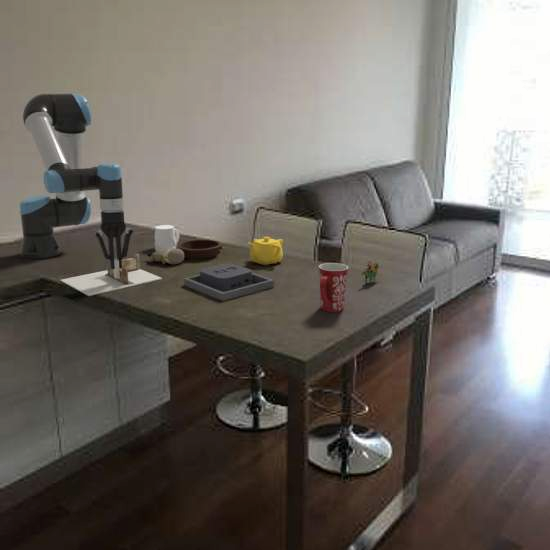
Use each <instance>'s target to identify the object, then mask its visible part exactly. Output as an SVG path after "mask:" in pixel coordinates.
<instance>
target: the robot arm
mask: <svg viewBox="0 0 550 550" xmlns="http://www.w3.org/2000/svg"><path fill="white" fill-rule="evenodd" d="M22 113H23V114H22V120H23V121H22V122H23V125H24V126H25V128H26V131H28V133H30V134H31V136H32V138H33V141H34V144H35V146H36V149H37V151H38V153H39V156H40V158H41V161H42V163H43V166H44V168H45V170H46V171H44V173H43V184H44V188H45V191H46V192H47V193H49V194H55V198H51V197H50V195H45V194H44V195H35V196H32V197H31V196H30V197H27V198H25V199H23V200H22V201H20V203H19V215H20V219H21V228H22V235H23V236H22V242H21V247H20V250H19V251H20V256H21V258H23V259H30V260H32V259H33V260H34V259H35V260H38V259H47V258H48V259H49V258H52V257H55V256H58V255H60V254H61V247H60V246H59V242H58V240H57V239H56V236H55V233H54V232H55V231H54V228H60V227H61V228H62V227H63V228H64V227H69V226H79V225H84V224H87V222H89V220H90V218H91V212H92V206H91V201H90V198H89V196H88V195H87V194H86V191H99V205H100V210H101V211H100V219H101V224H100V227H99V228H100V229H98V230H97V231H94V232H93V234H94V235H95V236H96V239H97V240H98V243H99V246H100V249H101V253H102V254H103V258H104V259H106V260H107V259H109V260H110V267H111V269H114V277H115V278H116V279H118V278H120V272H119V268H122V260H123V259H124V258H127V256H128V252H129V246H130V241H131V236H132V235H133V232H134V230H133V229H132V228H130V227H128V226H127V224H126V223H125V212H124V197H123V196H124V195H123V178H122V176H123V174H122V168H121V165H120V164H119V163H99V164H98V166H92V167H90V168H88V167H85V168H84V167H83V164H82V163H83V158H82V157H83V156H82V155H83V153H82V151H83V150H82V148H83V147H82V141H83V140H82V138H83V134H85V133H86V132H87V131H86V130H87V129H86V128H87V127H89V126H91V123H92V114H91V109H90V105H89V103H88V100H87V98H86V97H85V96H84V95H82V94H80V93H79V94H77V93H40V94H38V95H35V96H34V97H32V98H31V99H29V101H28V102H27V103H26V104H25V106H24V109H23V112H22ZM56 133H57V134H58V137H57V135H56ZM124 233H125V235H124V239H123V245H122V242H121V241H122V236H123V234H124ZM103 234H104V235H105V236H106V237H107V243H108V244H107V245H108V250H107V247H106V244H105V241H104V239H103ZM114 239H115V248H114ZM115 250H116V258H115Z"/></svg>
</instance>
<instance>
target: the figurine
mask: <svg viewBox="0 0 550 550" xmlns="http://www.w3.org/2000/svg"><path fill="white" fill-rule="evenodd" d="M369 263H370V264H369ZM366 267H367V268H364V271H361V273H360V276H364V280H365V284H369V285H372V284H371V282H372V281H373V282H374V281H376V277H377V275H379V273H378V269H380V266H379V263H378V262H374V263H373V264H372V262H371V261H367V265H366ZM368 278H369V282H368ZM371 280H372V281H371ZM367 282H368V283H367Z"/></svg>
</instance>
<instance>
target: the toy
mask: <svg viewBox="0 0 550 550" xmlns="http://www.w3.org/2000/svg"><path fill="white" fill-rule="evenodd" d="M146 256H147V257H149V258H151V260H152V261H155V262H159V263H160V262H161V263H162V264H163V265H165V264H166V263H167V264H170V265H177V264H178V265H179V264H181V263H182V262H183V261H184V259H185V258H184V252H183V251H182V250H181V249H179V248H177V247H176V248H175V249H170V250H158V251H157V250H155V252H152V253H151V252H150V253H148V254H147V255H146Z"/></svg>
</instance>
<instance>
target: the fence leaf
mask: <svg viewBox="0 0 550 550" xmlns="http://www.w3.org/2000/svg"><path fill="white" fill-rule="evenodd" d="M109 272H110V275H111V276H112V277H114V269H111V267H110V264H109ZM119 272H120V278H118V279H117V280H119V281H121V282H123V283H124V284H127V283H128V269H127V268H122V269H121V268H119ZM114 278H115V277H114Z"/></svg>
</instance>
